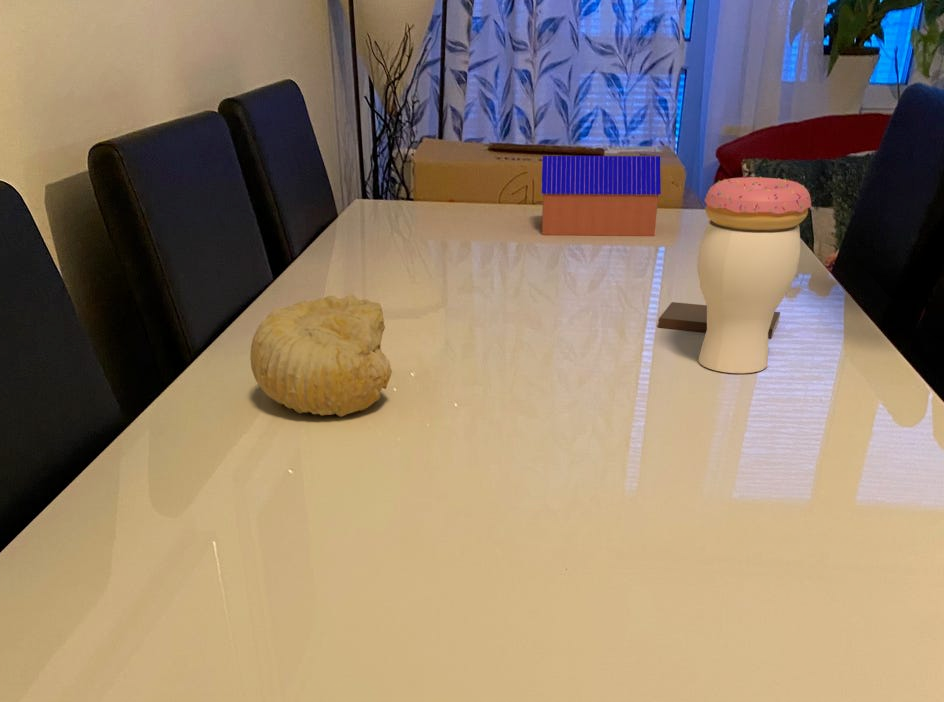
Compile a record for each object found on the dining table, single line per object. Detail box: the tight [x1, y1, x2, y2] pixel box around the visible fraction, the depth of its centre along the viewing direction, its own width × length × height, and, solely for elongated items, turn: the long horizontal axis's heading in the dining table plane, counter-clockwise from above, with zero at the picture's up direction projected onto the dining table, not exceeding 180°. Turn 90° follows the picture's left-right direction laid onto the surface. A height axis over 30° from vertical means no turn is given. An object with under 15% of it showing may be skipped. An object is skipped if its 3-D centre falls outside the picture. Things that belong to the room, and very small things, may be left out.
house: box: [541, 155, 662, 237], centre depth 172 cm, size 12×20×12 cm, turn 86°
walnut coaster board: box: [657, 301, 781, 340], centre depth 126 cm, size 14×8×1 cm, turn 69°
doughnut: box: [703, 175, 812, 231], centre depth 104 cm, size 11×11×4 cm
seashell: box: [249, 294, 393, 418], centre depth 102 cm, size 17×11×15 cm
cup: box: [696, 219, 802, 374], centre depth 109 cm, size 11×11×15 cm
